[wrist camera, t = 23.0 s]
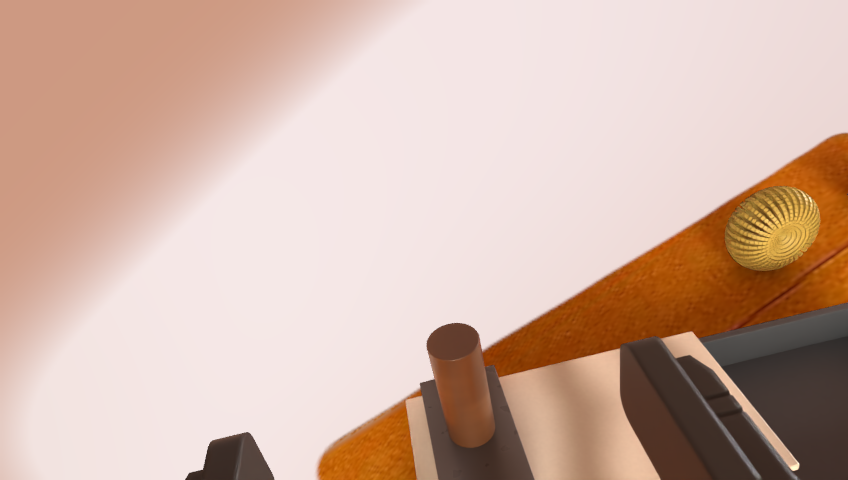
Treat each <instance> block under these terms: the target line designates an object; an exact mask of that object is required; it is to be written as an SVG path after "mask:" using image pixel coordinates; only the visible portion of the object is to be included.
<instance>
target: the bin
mask: <svg viewBox="0 0 848 480" xmlns="http://www.w3.org/2000/svg"><path fill="white" fill-rule="evenodd" d="M698 339H699V341H700V342H701V343H702V344H703V346H704V347H705V348H706V349H707V350H708V352H709V353H710V354H711V355H712V357H713V358H714V359H715V360H716V362H717V363H718V364H719V365H720V367H721V368H722V369H723V370H724V371H725V373H726V374H727V375H728V376H729V378H730V379H731V380H732V381H733V383H734V384H735V385H736V386H737V388H738V389H739V390H740V391H741V392H742V394H743V395H744V396H745V397H746V399H747V400H748V401H749V402H750V404H751V405H752V406H753V407H754V409H755V410H756V411H757V412H758V413H759V415H760V416H761V417H762V418H763V420H764V421H765V422H766V423H767V425H768V426H769V427H770V428H771V430H772V431H773V432H774V433H775V434H776V436H777V437H778V438H779V439H780V441H781V442H782V443H783V444H784V446H785V447H786V448H787V449H788V451H789V452H790V453H791V454H792V455H793V457H794V458H795V459H796V460H797V462H798V463H799V468H798V470H794V471H793V472H794V474H795V475H796V476H797V477H798V478H799V479H800V480H848V303H844V304H840V305H836V306H831V307H827V308H823V309H819V310H815V311H811V312H806V313H802V314H798V315H794V316H790V317H786V318H781V319H777V320H773V321H769V322H765V323H761V324H756V325H752V326H748V327H744V328H740V329H736V330H731V331H727V332H723V333H719V334H715V335H711V336H706V337H702V338H698Z"/></svg>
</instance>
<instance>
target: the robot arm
mask: <svg viewBox="0 0 848 480" xmlns="http://www.w3.org/2000/svg"><path fill="white" fill-rule="evenodd" d="M620 397H621V402H622V406H623V409H624V412H625V415H626V417H627V419H628V421H629V423H630V425H631V427H632V429H633V430H634V432H635V434H636V436H637V438H638V439H639V441H640V443H641V445H642V447H643V448H644V450H645V452H646V454H647V456H648V457H649V459H650V461H651V463H652V465H653V466H654V468H655V470H656V472H657V474H658V475H659V477H660V479H661V480H800V479H799V478H798V477H797V476H796V475H795V474H794V472H793V471H792V470H791V469H790V467H789V466H788V465H787V463H786V462H785V461H784V460H783V458H782V457H781V456H780V455H779V453H778V452H777V451H776V449H775V448H774V447H773V446H772V444H771V443H770V442H769V441H768V439H767V438H766V437H765V435H764V434H763V433H762V432H761V430H760V429H759V428H758V427H757V425H756V424H755V423H754V421H753V420H752V419H751V418H750V416H749V415H748V414H747V413H746V412H744V411H743V408H742V406H741V405H740V404H739V402H738V401H737V400H736V399H735V397H734V396H733V395H731V394H730V392H729V390H728V388H727V387H726V386H725V385H724V383H723V382H722V381H721V379H720V378H719V377H718V376H717V374H716V373H715V372H714V371H713V370H712V369H711V368H709V367H708V366H706V365H704V364H703V363H701V362H700V361H698V360H697V359H695V358H694V357H692V356H691V355H687V356H682V357H678V358H675V357H674V356H673V354H672V353H671V352H670V350H669V349H668V348H667V346H666V345H665V343H664V342H663V341H662V340H661V339H660V338H659V337H657V336H654V337H650V338H646V339H642V340H637V341H633V342H629V343H625V344H622V345H621V347H620ZM185 480H274V477H273V474H272V472H271V470H270V468H269V467H268V465H267V463H266V461H265V460H264V457H263V455H262V453H261V452H260V450H259V448H258V446H257V444H256V442H255V440H254V439H253V437H252V436H251V434H250V433H248V432H246V433H242V434H237V435H233V436H229V437H225V438H221V439H217V440H213V441H212V442H210V444H209V446H208V450H207V454H206V459H205V464H204V468H203V470H200V471H196V472H192V473H189V474H188V476H187V478H186V479H185Z"/></svg>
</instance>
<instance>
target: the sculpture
mask: <svg viewBox="0 0 848 480" xmlns="http://www.w3.org/2000/svg"><path fill="white" fill-rule="evenodd" d="M740 206H741V207H742V208H743V209H742V208H740V207H737V208H736V209H735V210H736V211H737V212H733V213H732V215H731V218H729V220H728V223H727V225H726V231H725V244H726V248H727V250H728V252H729V254H730V256H731V257H732V258H733V259H734V260H735V261H736V262H737V263H739V264H740V265H741V266H743V267H746V268H749V269H751V270H759V271H768V270H769V271H770V270H775V269H779V268H781V267H784V266H786V265H789V264H790V263H792V262H793V261H795V260H797V259H798V256H800V257H801V256H802V254H803V253H802V252H801V251H803V252H806V250H808V249H807V248H806V247H808V248H809V247H810V246H811V245H812V242H813V241H814V240H815V237H816V235H817V234H818V230H819V227H820V225H819V224H820V212H819V210H818V207H817V205H816V203H815V202H814V200H813V199H812V198H811V197H810V196H809V195H808V194H806V193H805V192H804V191H801V190H799V189H797V188H794V187H787V186H779V187H778V186H774V187H769V188H765V189H763V190H761V191H758V192H756V193H754V194H752V195H751V196H750V197H748V198H746V199H745V202H742V203H740ZM799 249H800V250H801V251H800V250H799ZM797 255H798V256H797Z"/></svg>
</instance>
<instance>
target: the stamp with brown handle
mask: <svg viewBox="0 0 848 480" xmlns="http://www.w3.org/2000/svg"><path fill="white" fill-rule="evenodd" d="M427 350H428V354H429V358H430V362H431V366H432V370H433V374H434V378H435V379H434V380H430V381H426V382H422V383H420V387H421V392H422V397H423V403H424V408H425V413H426V418H427V423H428V428H429V434H430V439H431V444H432V449H433V454H434V459H435V465H436V470H437V475H438V480H535V479H534V476H533V473H532V470H531V467H530V465H529V462H528V459H527V456H526V453H525V451H524V448H523V445H522V442H521V439H520V437H519V434H518V431H517V428H516V425H515V423H514V420H513V417H512V414H511V411H510V409H509V406H508V403H507V400H506V397H505V394H504V392H503V389H502V386H501V383H500V380H499V378H498V375H497V372H496V369H495V366H494V365H491V366H487V367H485V365H484V360H483V354H482V349H481V344H480V338H479V334H478V333H477V331H476V330H475V329H474V328H473V327H471V326H469V325H466V324H462V323H452V324H447V325H444V326H441V327H439V328H438V329H436V330H435V331H434V332H433V333H432V334H431V335H430V336H429V338H428V340H427Z"/></svg>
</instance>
